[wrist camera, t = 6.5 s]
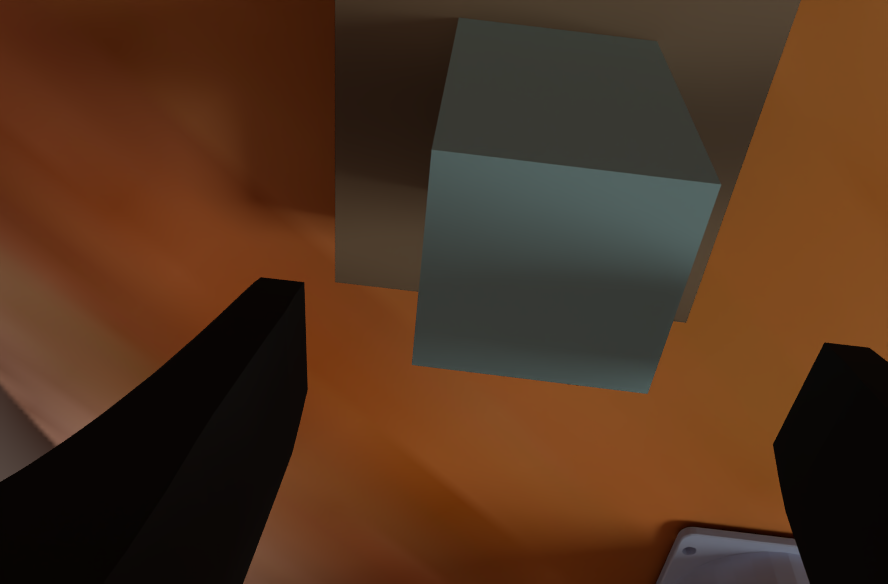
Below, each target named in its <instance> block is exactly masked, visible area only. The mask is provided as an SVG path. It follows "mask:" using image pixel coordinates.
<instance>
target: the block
mask: <svg viewBox="0 0 888 584" xmlns="http://www.w3.org/2000/svg"><path fill="white" fill-rule="evenodd" d="M720 187H721V183H720V181H719V178H718V176H717V174H716V172H715V169H714V167H713V165H712V163H711V160H710V158H709V156H708V154H707V152H706V149H705V147H704V145H703V143H702V140H701V138H700V136H699V134H698V131H697V129H696V127H695V125H694V123H693V120H692V118H691V116H690V114H689V111H688V109H687V107H686V105H685V102H684V100H683V98H682V96H681V94H680V91H679V89H678V87H677V85H676V82H675V80H674V78H673V76H672V73H671V71H670V69H669V67H668V65H667V62H666V60H665V58H664V56H663V53H662V51H661V49H660V47H659V44H658V42H657V41H651V40H643V39H634V38H626V37H618V36H609V35H601V34H592V33H584V32H576V31H567V30H559V29H551V28H542V27H534V26H525V25H517V24H509V23H500V22H492V21H483V20H475V19H467V18H459V19H458V24H457V29H456V34H455V39H454V44H453V48H452V53H451V58H450V63H449V68H448V73H447V78H446V82H445V87H444V92H443V97H442V102H441V107H440V111H439V116H438V121H437V126H436V131H435V136H434V140H433V145H432V151H431V162H430V173H429V184H428V195H427V206H426V216H425V227H424V238H423V249H422V260H421V271H420V282H419V293H418V304H417V315H416V326H415V337H414V348H413V359H412V365H418V366H426V367H434V368H442V369H450V370H458V371H466V372H475V373H483V374H491V375H499V376H507V377H515V378H523V379H532V380H540V381H548V382H556V383H564V384H572V385H581V386H589V387H597V388H605V389H613V390H621V391H629V392H638V393H646V394H648V391H649V388H650V385H651V382H652V380H653V377H654V374H655V371H656V368H657V365H658V363H659V360H660V357H661V354H662V351H663V348H664V346H665V343H666V340H667V337H668V334H669V331H670V329H671V326H672V323H673V320H674V317H675V314H676V312H677V309H678V306H679V303H680V300H681V297H682V295H683V292H684V289H685V286H686V283H687V280H688V278H689V275H690V272H691V269H692V266H693V263H694V261H695V258H696V255H697V252H698V249H699V246H700V244H701V241H702V238H703V235H704V232H705V229H706V227H707V224H708V221H709V218H710V215H711V212H712V210H713V207H714V204H715V201H716V198H717V195H718V193H719V190H720Z"/></svg>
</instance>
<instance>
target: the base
mask: <svg viewBox="0 0 888 584" xmlns="http://www.w3.org/2000/svg"><path fill="white" fill-rule="evenodd" d="M800 1H801V0H335V282H339V283H348V284H356V285H365V286H374V287H382V288H391V289H400V290H408V291H417V292H419V282H420V271H421V260H422V249H423V238H424V227H425V216H426V206H427V195H428V184H429V173H430V162H431V151H432V145H433V140H434V136H435V131H436V126H437V121H438V116H439V111H440V107H441V102H442V97H443V92H444V87H445V82H446V78H447V73H448V68H449V63H450V58H451V53H452V48H453V44H454V39H455V34H456V29H457V24H458V19H459V18H467V19H475V20H483V21H492V22H500V23H509V24H517V25H525V26H534V27H542V28H551V29H559V30H567V31H576V32H584V33H592V34H601V35H609V36H618V37H626V38H634V39H643V40H651V41H657V42H658V44H659V47H660V49H661V51H662V53H663V56H664V58H665V60H666V62H667V65H668V67H669V69H670V71H671V73H672V76H673V78H674V80H675V82H676V85H677V87H678V89H679V91H680V94H681V96H682V98H683V100H684V102H685V105H686V107H687V109H688V111H689V114H690V116H691V118H692V120H693V123H694V125H695V127H696V129H697V131H698V134H699V136H700V138H701V140H702V143H703V145H704V147H705V149H706V152H707V154H708V156H709V158H710V160H711V163H712V165H713V167H714V169H715V172H716V174H717V176H718V178H719V181H720V183H721V187H720V190H719V193H718V195H717V198H716V201H715V204H714V207H713V210H712V212H711V215H710V218H709V221H708V224H707V227H706V229H705V232H704V235H703V238H702V241H701V244H700V246H699V249H698V252H697V255H696V258H695V261H694V263H693V266H692V269H691V272H690V275H689V278H688V280H687V283H686V286H685V289H684V292H683V295H682V297H681V300H680V303H679V306H678V309H677V312H676V314H675V317H674V320H673V321H677V322H685V323H686V321H687V318H688V316H689V313H690V310H691V307H692V304H693V302H694V299H695V296H696V293H697V290H698V288H699V285H700V282H701V279H702V276H703V274H704V271H705V268H706V265H707V262H708V259H709V257H710V254H711V251H712V248H713V245H714V243H715V240H716V237H717V234H718V231H719V229H720V226H721V223H722V220H723V217H724V215H725V212H726V209H727V206H728V203H729V200H730V198H731V195H732V192H733V189H734V186H735V184H736V181H737V178H738V175H739V172H740V170H741V167H742V164H743V161H744V158H745V156H746V153H747V150H748V147H749V144H750V141H751V139H752V136H753V133H754V130H755V127H756V125H757V122H758V119H759V116H760V113H761V111H762V108H763V105H764V102H765V99H766V97H767V94H768V91H769V88H770V85H771V82H772V80H773V77H774V74H775V71H776V68H777V66H778V63H779V60H780V57H781V54H782V52H783V49H784V46H785V43H786V40H787V38H788V35H789V32H790V29H791V26H792V23H793V21H794V18H795V15H796V12H797V9H798V7H799V4H800Z"/></svg>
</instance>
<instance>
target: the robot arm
mask: <svg viewBox="0 0 888 584" xmlns="http://www.w3.org/2000/svg"><path fill="white" fill-rule="evenodd" d="M307 390H308V387H307V355H306V323H305V291H304V282H297V281H288V280H279V279H271V278H262V277H261V278H259V279H258V280H257V281H255V282H254V283H253V284H252V285H251V286H250V287H249V288H247V289H246V290H245V291H244V292H243V293H242V294H241V295H240V296H239V297H238V298H237V299H236V300H235V301H234V302H233V303H232V304H231V305H229V306H228V307H227V308H226V309H225V310H224V311H223V312H222V313H221V314H220V315H219V316H218V317H217V318H216V319H215V320H213V321H212V322H211V323H210V324H209V325H208V326H207V327H206V328H205V329H204V330H203V331H202V332H200V333H199V334H198V335H197V336H196V337H195V338H194V339H193V340H191V341H190V342H189V343H188V344H187V345H186V346H185V347H183V348H182V349H181V350H180V351H179V352H178V353H177V354H175V355H174V356H173V357H172V358H171V359H170V360H169V361H167V362H166V363H165V364H164V365H163V366H162V367H161V368H159V369H158V370H157V371H156V372H155V373H153V374H152V375H151V376H150V377H149V378H147V379H146V380H145V381H143V382H142V383H141V384H140V385H138V386H137V387H136V388H135V389H133V390H132V391H131V392H130V393H128V394H127V395H126V396H124V397H123V398H122V399H121V400H119V401H118V402H117V403H116V404H114V405H113V406H112V407H110V408H109V409H108V410H107V411H105V412H104V413H103V414H101V415H100V416H99V417H97V418H96V419H95V420H93V421H92V422H91V423H89V424H88V425H86V426H85V427H84V428H82V429H81V430H79V431H78V432H77V433H75V434H74V435H72V436H71V437H70V438H68V439H67V440H65V441H64V442H62V443H61V444H59V445H58V446H56V447H55V448H53V449H52V450H50V451H49V452H47V453H46V454H44V455H43V456H41V457H40V458H38V459H37V460H35V461H34V462H32V463H31V464H29V465H28V466H26V467H25V468H23V469H21V470H20V471H18V472H16V473H15V474H13V475H11V476H10V477H8V478H6V479H5V480H3V481H1V482H0V584H243V582H244V579H245V577H246V574H247V572H248V569H249V566H250V564H251V561H252V558H253V556H254V553H255V550H256V548H257V545H258V543H259V540H260V537H261V535H262V532H263V529H264V527H265V524H266V522H267V519H268V516H269V514H270V511H271V508H272V506H273V503H274V500H275V498H276V495H277V492H278V490H279V487H280V484H281V482H282V479H283V476H284V474H285V471H286V468H287V466H288V463H289V460H290V457H291V455H292V452H293V448H294V444H295V440H296V436H297V432H298V428H299V424H300V420H301V415H302V411H303V407H304V403H305V398H306V394H307ZM773 447H774V453H775V459H776V465H777V471H778V477H779V482H780V487H781V492H782V496H783V501H784V506H785V511H786V514H787V517H788V520H789V523H790V526H791V530H792V533H793V536H794V539H793V538H784V537H776V536H767V535H759V534H751V533H742V532H734V531H725V530H717V529H708V528H700V527H687V528H684V529H682V530H681V531H680V532H679V533H678V535H677V537H676V539H675V542H674V544H673V546H672V548H671V551H670V553H669V555H668V557H667V560H666V562H665V564H664V567H663V569H662V571H661V573H660V576H659V578H658V580H657V582H656V584H888V362H887V361H886V360H885V359H883V358H882V357H881V356H879V355H878V354H877V353H875V352H874V351H873V350H872V349H870V348H867V347H859V346H850V345H841V344H833V343H824V345H823V347H822V349H821V350H820V352H819V354H818V356H817V358H816V360H815V362H814V364H813V366H812V368H811V370H810V372H809V374H808V376H807V378H806V380H805V382H804V384H803V386H802V388H801V390H800V392H799V394H798V396H797V398H796V400H795V402H794V404H793V406H792V408H791V410H790V412H789V414H788V416H787V418H786V420H785V422H784V424H783V426H782V428H781V429H780V431H779V433H778V435H777V437H776V439H775V441H774V443H773Z"/></svg>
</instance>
